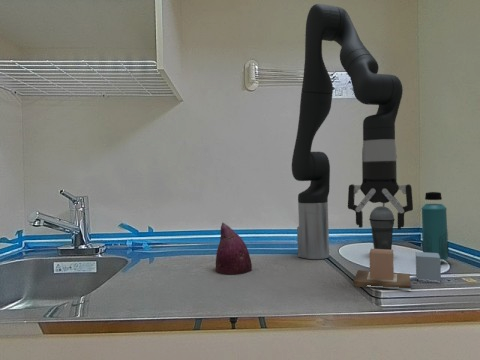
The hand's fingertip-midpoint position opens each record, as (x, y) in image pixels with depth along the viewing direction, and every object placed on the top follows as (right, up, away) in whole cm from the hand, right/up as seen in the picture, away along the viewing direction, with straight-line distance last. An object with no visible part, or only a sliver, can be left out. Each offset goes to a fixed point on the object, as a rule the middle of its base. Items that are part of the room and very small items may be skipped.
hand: (379, 228), depth 85 cm
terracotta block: (+1, -12, 0) cm, 12 cm away
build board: (+1, -13, 0) cm, 13 cm away
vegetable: (-35, -14, +16) cm, 41 cm away
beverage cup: (+11, -12, +25) cm, 30 cm away
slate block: (+12, -13, +1) cm, 18 cm away
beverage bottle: (+22, -12, +17) cm, 30 cm away
